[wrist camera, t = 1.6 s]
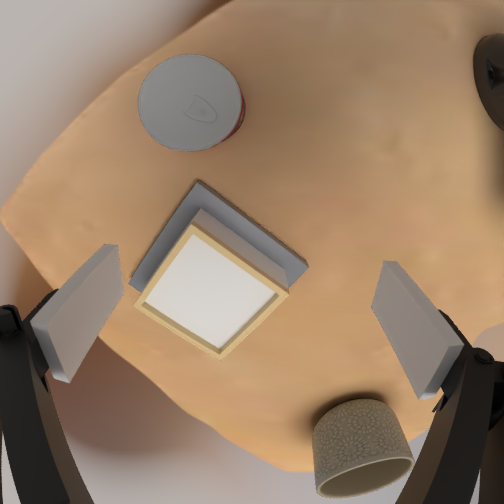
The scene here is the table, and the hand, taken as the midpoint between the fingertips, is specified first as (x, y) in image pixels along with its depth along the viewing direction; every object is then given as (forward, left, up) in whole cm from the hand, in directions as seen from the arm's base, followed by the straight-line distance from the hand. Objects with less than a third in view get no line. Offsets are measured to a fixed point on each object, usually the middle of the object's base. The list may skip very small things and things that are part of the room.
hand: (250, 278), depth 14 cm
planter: (+21, +41, -21) cm, 50 cm away
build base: (+11, +3, -21) cm, 24 cm away
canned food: (-4, -9, -21) cm, 23 cm away
